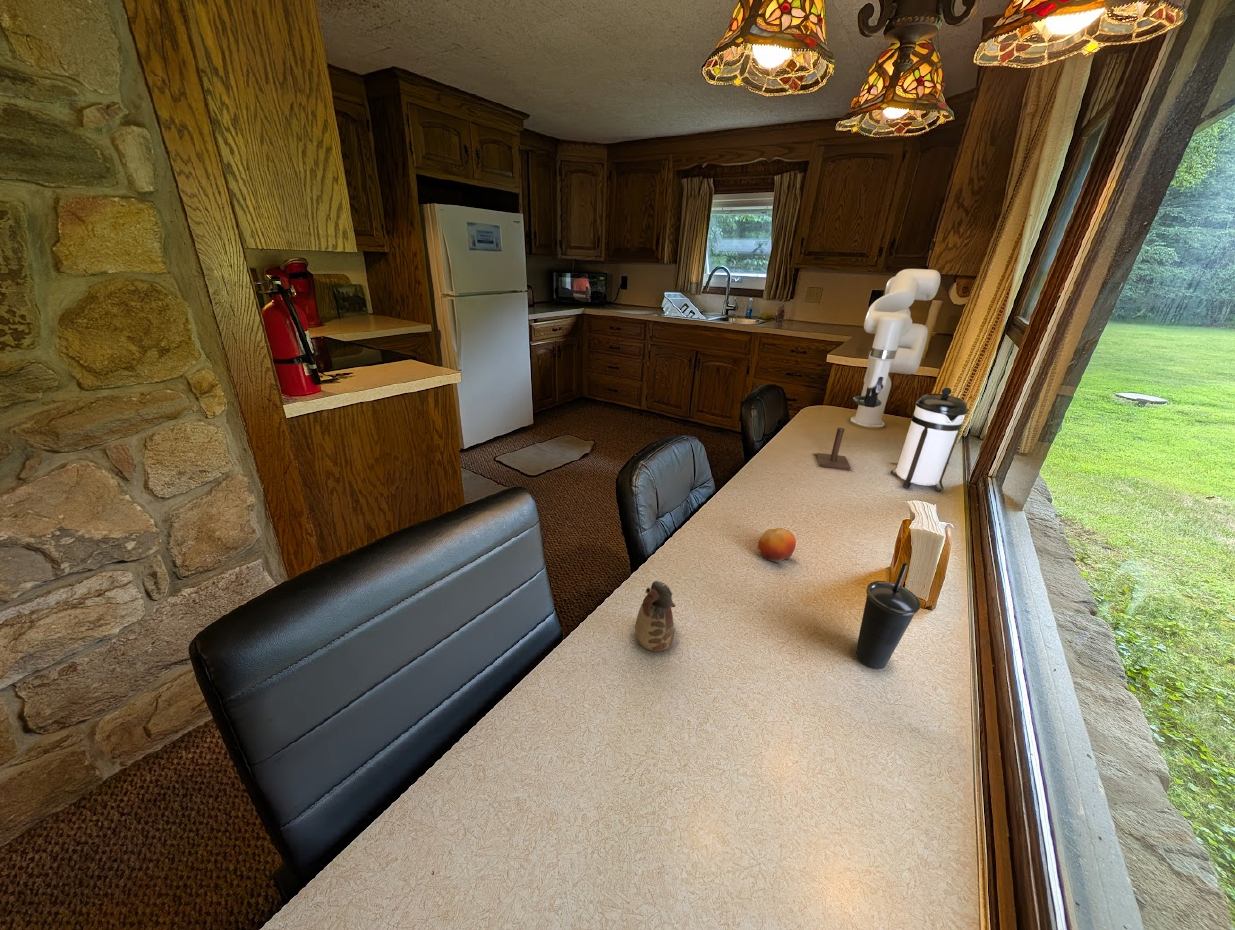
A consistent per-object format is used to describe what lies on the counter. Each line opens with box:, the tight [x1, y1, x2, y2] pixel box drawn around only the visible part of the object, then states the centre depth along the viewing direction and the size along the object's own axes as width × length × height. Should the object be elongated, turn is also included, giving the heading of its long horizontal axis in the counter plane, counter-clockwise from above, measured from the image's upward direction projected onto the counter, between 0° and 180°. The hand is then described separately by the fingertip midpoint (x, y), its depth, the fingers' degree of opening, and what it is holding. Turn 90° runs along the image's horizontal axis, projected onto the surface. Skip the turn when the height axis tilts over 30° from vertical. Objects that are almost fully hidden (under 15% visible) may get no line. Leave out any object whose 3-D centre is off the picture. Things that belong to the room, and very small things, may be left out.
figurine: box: [634, 580, 677, 653], centre depth 80 cm, size 7×7×12 cm
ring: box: [852, 395, 882, 407], centre depth 166 cm, size 9×9×2 cm
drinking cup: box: [855, 562, 921, 670], centre depth 75 cm, size 8×8×20 cm
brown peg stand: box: [816, 427, 851, 471], centre depth 151 cm, size 9×9×12 cm
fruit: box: [757, 527, 797, 564], centre depth 104 cm, size 8×8×8 cm
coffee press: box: [889, 387, 970, 493], centre depth 137 cm, size 17×16×30 cm
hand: (868, 405), depth 163 cm, fingers closed on ring, 2 cm apart
